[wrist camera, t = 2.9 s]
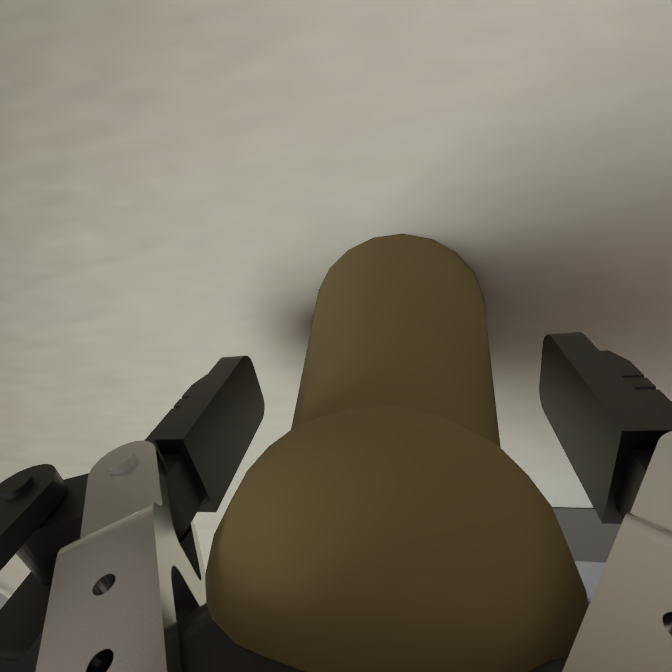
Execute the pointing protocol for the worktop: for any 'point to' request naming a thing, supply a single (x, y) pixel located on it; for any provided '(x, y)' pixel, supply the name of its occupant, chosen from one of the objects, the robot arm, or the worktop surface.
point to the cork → (395, 494)
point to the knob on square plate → (587, 542)
